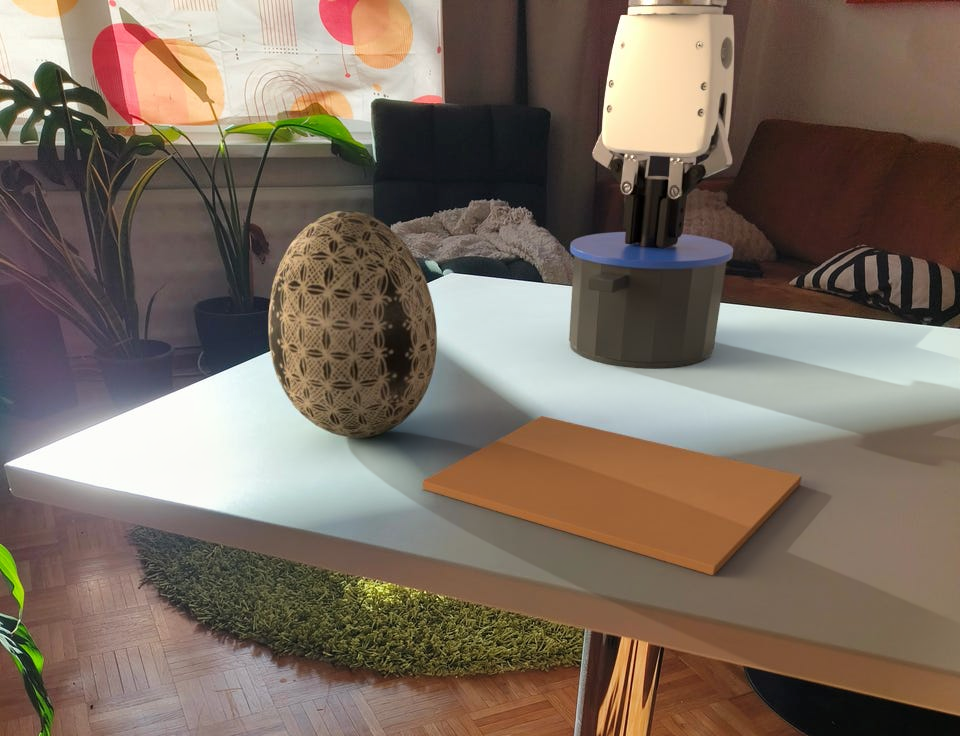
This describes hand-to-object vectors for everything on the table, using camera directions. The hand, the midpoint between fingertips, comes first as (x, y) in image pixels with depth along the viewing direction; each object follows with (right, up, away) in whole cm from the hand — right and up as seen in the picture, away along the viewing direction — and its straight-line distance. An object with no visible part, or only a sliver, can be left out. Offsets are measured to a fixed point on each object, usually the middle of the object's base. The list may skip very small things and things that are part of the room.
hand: (651, 242), depth 81 cm
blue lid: (0, -1, +1) cm, 1 cm away
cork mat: (-7, -26, -22) cm, 35 cm away
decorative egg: (-24, -21, -14) cm, 35 cm away
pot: (0, -8, +5) cm, 9 cm away
